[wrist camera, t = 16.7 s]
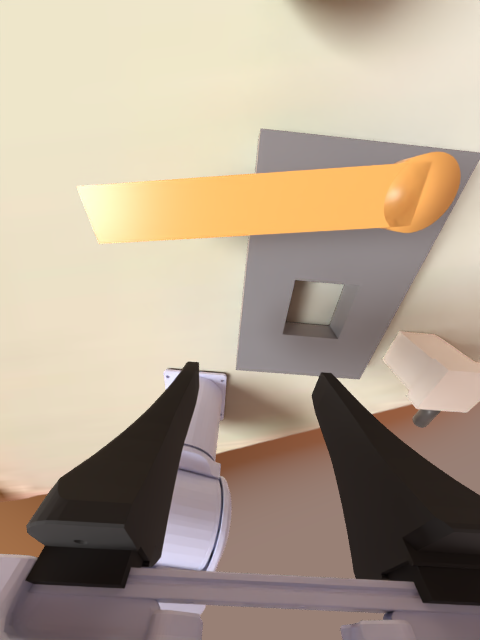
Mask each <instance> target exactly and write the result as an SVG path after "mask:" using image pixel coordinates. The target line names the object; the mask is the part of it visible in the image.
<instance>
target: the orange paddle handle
mask: <svg viewBox="0 0 480 640" xmlns="http://www.w3.org/2000/svg"><path fill="white" fill-rule="evenodd" d="M460 178H461V172H460V167H459V164H458V162H457V161H456V159H455V158H454V157H453V156H451V155H450V154H448V153H445V152H430V153H426V154H423V155H419V156H415V157H411V158H407V159H404V160H400V161H398V162H396V163H394V164H385V165H371V166H357V167H342V168H328V169H314V170H300V171H286V172H271V173H257V174H243V175H229V176H215V177H200V178H186V179H172V180H158V181H144V182H129V183H115V184H101V185H87V186H76V187H77V189H78V192H79V194H80V197H81V200H82V202H83V205H84V207H85V210H86V212H87V215H88V218H89V220H90V223H91V225H92V228H93V230H94V233H95V235H96V238H97V241H98V243H99V244H105V243H123V242H140V241H158V240H175V239H193V238H210V237H228V236H245V235H263V234H280V233H298V232H315V231H333V230H350V229H368V228H381V229H386V230H391V231H396V232H401V233H412V232H417V231H419V230H422V229H424V228H426V227H428V226H430V225H431V224H433V223H434V222H435V221H437V220H438V219H439V218H440V217H441V216H442V215H443V214H444V213H445V212H446V210H447V209H448V208H449V206H450V205H451V204H452V202H453V200H454V198H455V196H456V194H457V191H458V189H459V185H460Z"/></svg>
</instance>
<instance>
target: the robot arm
mask: <svg viewBox="0 0 480 640" xmlns="http://www.w3.org/2000/svg"><path fill="white" fill-rule="evenodd" d="M164 379H165V386H166V390H165V392H164V393H163V394H162V395H161V396H160V397H159V398H158V399H157V400H156V401H155V403H154V404H153V405H152V406H151V407H150V408H149V409H148V410H147V411H146V412H145V413H144V414H143V415H141V416H140V417H139V418H138V419H137V420H136V421H135V422H134V423H133V424H132V425H130V426H129V427H128V428H127V429H126V430H125V431H124V432H122V433H121V434H120V435H119V436H117V437H116V438H115V439H114V440H112V441H111V442H110V443H108V444H107V445H106V446H105V447H103V448H102V449H101V450H99V451H98V452H97V453H95V454H94V455H93V456H91V457H90V458H89V459H87V460H86V461H84V462H83V463H81V464H80V465H78V466H77V467H75V468H74V469H73V470H71V471H70V472H68V473H67V474H65V475H64V476H62V477H61V478H60V479H59V480H58V482H57V483H56V484H55V485H54V487H53V488H52V489H51V490H50V492H49V493H48V495H47V496H46V497H45V499H44V501H43V502H42V503H41V505H40V506H39V508H38V510H37V511H36V512H35V514H34V515H33V517H32V519H31V520H30V522H29V523H28V524H27V533H29V534H30V535H31V536H32V537H34V538H35V539H36V540H38V541H39V542H41V543H42V544H44V545H45V547H44V549H43V550H42V552H41V554H40V556H39V557H38V558H37V557H33V556H27V555H9V554H0V640H201V638H202V628H203V622H202V620H201V617H200V615H201V614H202V612H203V611H204V609H205V606H206V605H219V606H220V605H221V606H241V607H262V608H285V609H305V610H326V611H347V612H368V613H386V614H385V615H384V617H383V620H368V621H366V620H364V621H360V622H359V623H355V624H350V625H342V626H341V634H342V638H343V640H480V495H478V494H477V493H475V492H474V491H472V490H470V489H469V488H467V487H465V486H464V485H462V484H461V483H459V482H458V481H456V480H455V479H453V478H452V477H450V476H449V475H447V474H446V473H445V472H443V471H442V470H440V469H439V468H437V467H436V466H434V465H433V464H432V463H430V462H429V461H427V460H426V459H425V458H423V457H422V456H421V455H419V454H418V453H417V452H416V451H414V450H413V449H412V448H410V447H409V446H408V445H406V444H405V443H404V442H403V441H401V440H400V439H399V438H398V437H397V436H395V435H394V434H393V433H392V432H391V431H389V430H388V429H387V428H386V427H385V426H384V425H383V424H381V423H380V422H379V421H378V420H377V419H376V418H375V417H374V416H373V415H372V414H371V413H370V412H369V411H368V410H367V409H366V408H365V407H364V406H363V405H362V404H361V403H360V402H359V401H358V400H357V399H356V398H355V397H354V396H353V395H352V394H351V393H350V392H349V391H348V390H347V389H346V388H345V387H344V386H343V385H342V384H341V383H340V381H339V380H338V379H337V378H336V377H335V376H334V375H333V374H332V373H326V372H321V374H320V376H319V379H318V381H317V383H316V386H315V388H314V391H313V393H312V399H313V404H314V409H315V413H316V416H317V419H318V422H319V425H320V428H321V431H322V434H323V437H324V440H325V442H326V445H327V448H328V451H329V454H330V457H331V461H332V464H333V468H334V472H335V476H336V480H337V485H338V489H339V494H340V498H341V503H342V507H343V513H344V518H345V523H346V527H347V533H348V539H349V545H350V550H351V556H352V563H353V570H354V574H355V577H356V579H348V578H326V577H309V576H308V577H307V576H289V575H270V574H269V575H268V574H251V573H250V574H249V573H230V572H215V571H216V568H217V565H218V563H219V560H220V558H221V556H222V554H223V552H224V549H225V546H226V542H227V539H228V534H229V529H230V521H231V495H230V491H229V488H228V484H227V482H226V479H224V477H222V476H220V467H221V464H219V463H216V462H215V456H216V448H217V439H218V431H219V422H220V421H221V420H223V419H224V408H225V394H226V381H227V375H226V374H223V373H211V372H199V362H187V363H186V364H185V366H184V367H183V369H182V370H171V369H166V370H165V371H164Z"/></svg>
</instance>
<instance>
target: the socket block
mask: <svg viewBox="0 0 480 640" xmlns="http://www.w3.org/2000/svg"><path fill="white" fill-rule="evenodd" d="M430 152H445V153H448V154H450V155H451V156H453V157H454V158H455V159H456V161H457V162H458V164H459V167H460V172H461V178H460V185H459V189H458V191H457V194H456V196H455V198H454V200H453V202H452V204H451V205H450V206H449V208H448V209H447V210H446V212H445V213H444V214H443V215H442V216H441V217H440V218H439V219H438V220H437V221H435V222H434V223H433V224H431V225H430V226H428V227H426V228H424V229H422V230H419V231H417V232H412V233H401V232H396V231H391V230H386V229H381V228H368V229H350V230H333V231H315V232H298V233H280V234H263V235H249V237H248V247H247V257H246V267H245V277H244V287H243V297H242V307H241V317H240V327H239V337H238V347H237V358H236V370H244V371H257V372H271V373H284V374H297V375H310V376H320V374H321V372H326V373H332V374H333V375H334V376H335V377H336V378H349V379H360V377H361V376H362V374H363V372H364V370H365V368H366V366H367V365H368V363H369V361H370V359H371V357H372V355H373V354H374V352H375V350H376V348H377V346H378V344H379V343H380V341H381V339H382V337H383V335H384V333H385V332H386V330H387V328H388V326H389V324H390V322H391V321H392V319H393V317H394V315H395V313H396V312H397V310H398V308H399V306H400V304H401V302H402V301H403V299H404V297H405V295H406V293H407V291H408V290H409V288H410V286H411V284H412V282H413V280H414V279H415V277H416V275H417V273H418V271H419V269H420V268H421V266H422V264H423V262H424V260H425V258H426V257H427V255H428V253H429V251H430V249H431V247H432V246H433V244H434V242H435V240H436V238H437V236H438V235H439V233H440V231H441V229H442V227H443V225H444V224H445V222H446V220H447V218H448V216H449V214H450V213H451V211H452V209H453V207H454V205H455V203H456V202H457V200H458V198H459V196H460V194H461V192H462V191H463V189H464V187H465V185H466V183H467V182H468V180H469V178H470V176H471V174H472V172H473V171H474V169H475V167H476V165H477V163H478V161H479V160H480V153H478V152H469V151H460V150H451V149H442V148H433V147H424V146H414V145H405V144H396V143H387V142H378V141H369V140H360V139H351V138H342V137H333V136H324V135H315V134H306V133H297V132H288V131H279V130H270V129H261V130H260V134H259V139H258V148H257V158H256V168H255V174H257V173H271V172H286V171H300V170H314V169H328V168H342V167H357V166H371V165H385V164H394V163H396V162H398V161H400V160H404V159H407V158H411V157H415V156H419V155H423V154H426V153H430ZM295 280H301V281H312V282H323V283H334V284H344V287H343V289H342V292H341V295H340V298H339V300H338V303H337V306H336V308H335V311H334V314H333V317H332V319H331V322H330V325H329V326H328V325H316V324H304V323H292V322H285V321H286V317H287V313H288V309H289V304H290V300H291V296H292V292H293V287H294V283H295Z"/></svg>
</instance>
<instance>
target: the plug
mask: <svg viewBox="0 0 480 640" xmlns="http://www.w3.org/2000/svg"><path fill="white" fill-rule="evenodd" d="M382 360H383V361H384V362H385V363H386V365H387V366H388V367H389V368H390V369H391V370H392V372H393V373H394V374H395V375H396V376H397V377H398V378H399V380H400V381H401V382H402V383H403V384H404V385H405V386H406V388H407V389H408V390H409V392H408V393H407V395H406V397H407V398H408V399H409V400H410V402H411V403H412V404H413V405H414V406H415V408H416V409H420V410H419V411H418V412H417V413H416V414H415V415H414V417H413V422H414V424H415V425H416V426H418V427H422V428H423V427H426V426H427V425H428V424H429V423H430V422H431V421H432V420H433V419H434V418H435V417H436V415H438V414H439V412H440V411H451V412H465V413H467V412H468V411H469V410H471V408H473V407H474V406H475V405H476V404H477V403H478V402H479V401H480V362H475V361H473V360H472V359H470V358H469V357H467V356H466V355H465V354H463V353H462V352H460V351H459V350H457V349H456V348H455V347H453V346H452V345H450V344H449V343H447V342H446V341H444V340H443V339H442V338H440V337H439V336H437V335H436V334H426V333H415V332H403V331H399V332H398V334H397V336H396V337H395V339H394V341H393V342H392V344H391V346H390V347H389V349H388V351H387V352H386V354H385V356H384V358H383V359H382Z"/></svg>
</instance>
